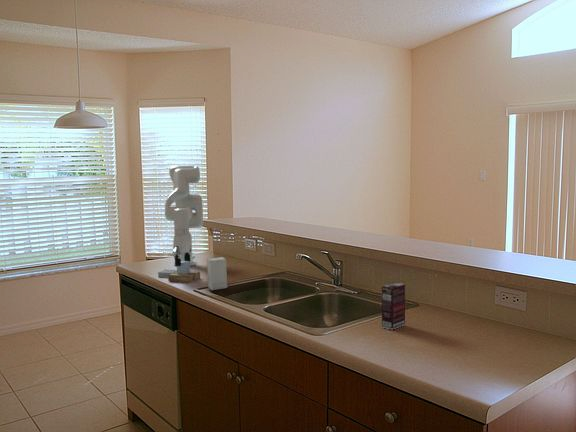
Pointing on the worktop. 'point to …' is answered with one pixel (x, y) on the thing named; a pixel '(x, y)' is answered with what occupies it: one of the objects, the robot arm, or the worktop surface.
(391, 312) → the supplement box
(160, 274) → the slate coaster
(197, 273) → the walnut slab
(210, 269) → the skincare box
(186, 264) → the blue block
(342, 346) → the worktop surface
